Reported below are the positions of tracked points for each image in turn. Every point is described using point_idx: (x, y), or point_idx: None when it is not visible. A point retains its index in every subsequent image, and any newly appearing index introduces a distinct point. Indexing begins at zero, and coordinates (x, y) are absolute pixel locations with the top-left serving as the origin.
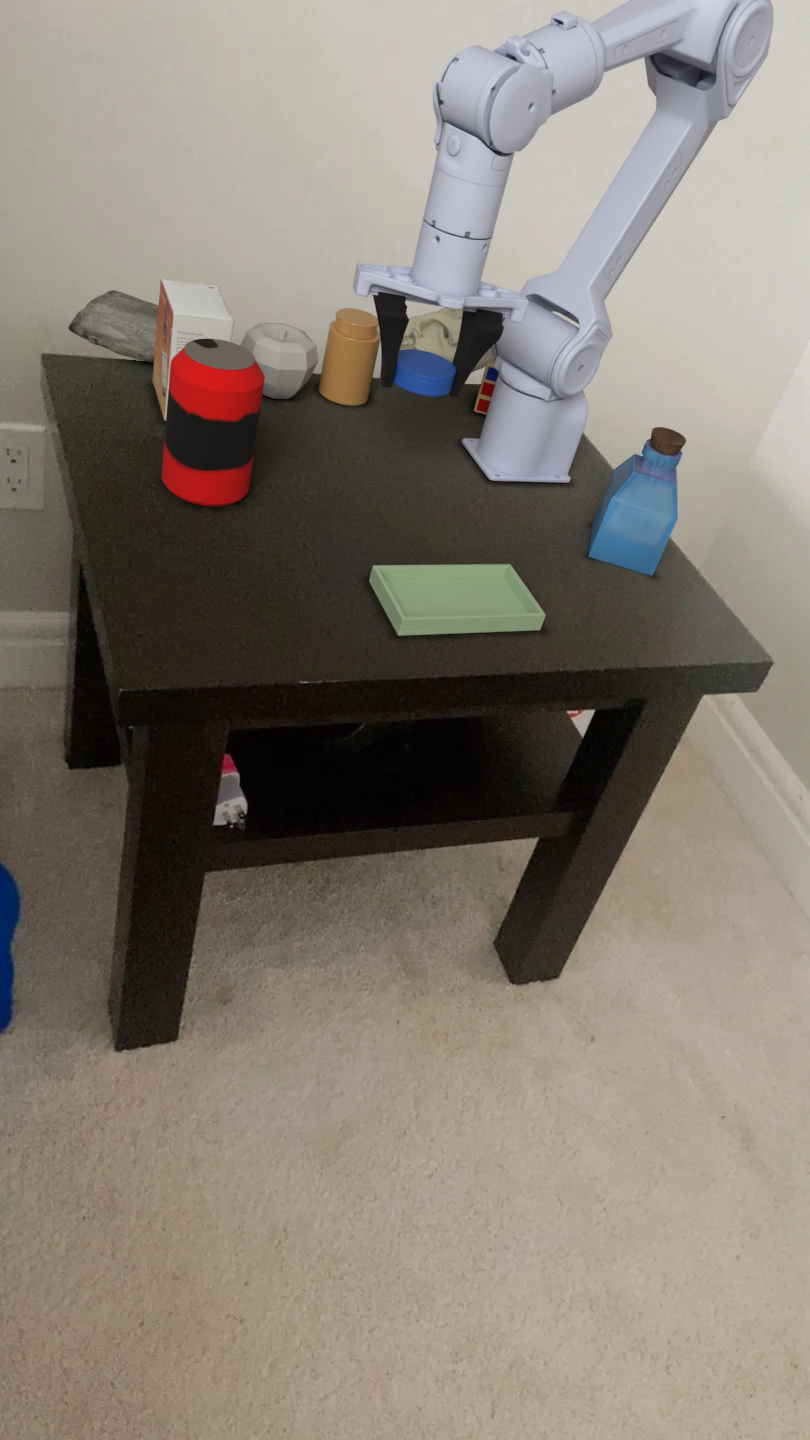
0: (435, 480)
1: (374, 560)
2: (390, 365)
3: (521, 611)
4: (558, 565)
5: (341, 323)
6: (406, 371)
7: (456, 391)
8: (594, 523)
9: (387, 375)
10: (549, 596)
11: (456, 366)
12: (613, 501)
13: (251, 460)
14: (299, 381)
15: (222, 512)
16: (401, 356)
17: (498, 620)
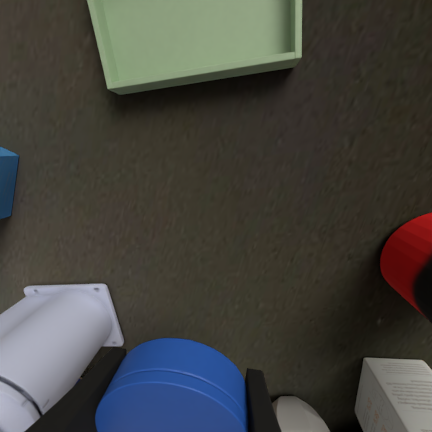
0: (162, 282)
1: (272, 119)
2: (269, 426)
3: (110, 4)
4: (54, 134)
5: None
6: (229, 406)
7: (110, 357)
8: (2, 208)
9: (266, 396)
10: (71, 62)
11: (91, 429)
12: None
13: (426, 255)
14: (280, 415)
15: (428, 203)
16: None
17: None
